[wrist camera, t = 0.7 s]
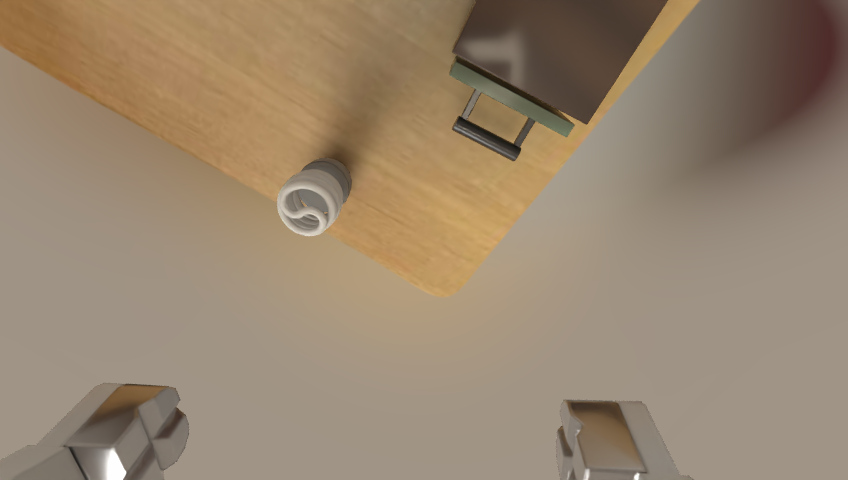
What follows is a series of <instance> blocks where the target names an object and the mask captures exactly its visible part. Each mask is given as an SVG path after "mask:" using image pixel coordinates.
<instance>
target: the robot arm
mask: <svg viewBox="0 0 848 480" xmlns="http://www.w3.org/2000/svg"><path fill="white" fill-rule="evenodd" d="M179 401H180V398H179V395H178V393H177V391H176V388H173V387H169V386H155V385H154V386H153V385H138V384H115V383H103V384H100V385H98V386H96V387H94V388H93V389H92V390H91V391H90V392H89V393H88V394H87V395H86V396H85V397H84V398H83V399H82V400H81V401H80V402H79V403H78V404H77V405H76V406H75V407H74V408H73V409H72V410H71V411H70V412H69V413H68V414H67V415H66V416H65V417H64V418H63V419H62V420H61V421H60V422H59V423H58V424H57V425H56V426H55V427H54V428H53V429H52V430H51V431H50V432H49V433H48V434H47V435H46V436H45V437H44V438H43V439H42V440H41V441H40V442H39V443H38V444H37V445H28V446H26V447H24V448H22V449H20V450H18V451H16V452H15V453H13V454H11V455H9V456H7V457H5V458H3V459H1V460H0V480H164V470H165V469H167V468H168V467H170V466H171V465H172V464H174V463H175V462H177V460H178V459H179V457H180V455H181V454H182V452H183V451H184V449H185V446H186V442H187V439H188V435H189V424H188V420H187V418H186V415H185V414H184V413H183V412H181V411H180V410H179V409H178V408H177V407H176V406H177V405H178V403H179ZM560 416H561V420H562V424H563V426H561V427H560V428H559V429H558V431H557V439H556V457H557V464H558V470H559V475H560V479H561V480H693V479H692V478H691V477H690V476H684V475H680V474H679V472H678V470H677V468H676V466H675V464H674V462H673V459H672V457H671V456H670V453H669V451H668V449H667V447H666V445H665V443H664V441H663V439H662V437H661V435H660V433H659V431H658V429H657V427H656V425H655V423H654V421H653V419H652V417H651V415H650V413H649V411H648V409H647V407H646V405H645V404H643V403H642V402H640V401H600V400H599V401H597V400H563V402H562V404H561V410H560Z"/></svg>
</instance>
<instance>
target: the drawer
mask: <svg viewBox="0 0 848 480" xmlns="http://www.w3.org/2000/svg"><path fill="white" fill-rule="evenodd" d="M449 75H450V76H452V77H453V78H455V79H457V80H459V81H461V82H463V83H465V84H467V85H469V86H470V87H472V88H474V89H475V90H474V92H473V94H472V96H471V97H470V99H469V101H468V103H467V105H466V107H465V109H464V111H463V113H462V115H461V116H458V117H457V119H456V121H455V123H454V125H453V127H452V130H453V131H455V132H457V133H459V134H461V135H463V136H465V137H467V138H469V139H471V140H473V141H475V142H477V143H479V144H480V145H482V146H484V147H486V148H488V149H490V150H492V151H494V152H496V153H498V154H500V155H502V156H504V157H506V158H508V159H510V160H512V161H515V160H516V159H517V157H518V156H519V154H520V151H521V148H520V146H521V144H522V143H523V141H524V139H525V138H526V136H527V134H528V133H529V131H530V129H531V128H532V126H533V124H534V123H535V121H537V122H538V123H540V124H542V125H544V126H546V127H548V128H550V129H552V130H554V131H555V132H557V133H559V134H561V135H563V136H565V137H567V136H568V135H569V133H570V132H571V130H572V129H573V127H574V124H573V123H572V122H571V121H570V120H568V119H567V118H566V117H565V116H564V115H563V114H562V113H561V112H560V111H558V110H557V109H555V108H553V107H551V106H549V105H548V104H546V103H544V102H542V101H540V100H538V99H536V98H535V97H533V96H531V95H529V94H527V93H525V92H523V91H522V90H520V89H518V88H516V87H514V86H512V85H510V84H509V83H507V82H505V81H503V80H501V79H499V78H497V77H496V76H494V75H492V74H490V73H488V72H486V71H484V70H483V69H481V68H479V67H477V66H475V65H473V64H471V63H469V62H468V61H466V60H464V59H462V58H460V57H458V56H456V57H455V59H454V61H453V64H452V66H451V69H450V73H449ZM481 92H482V93H484V94H486V95H487V96H489V97H491V98H493V99H495V100H497V101H499V102H501V103H503V104H504V105H506V106H508V107H510V108H512V109H514V110H516V111H518V112H520V113H521V114H523V115H525V116H527V117H529V118H528V119H527V121H526V123H525V125H524V126H523V128H522V130H521V131H520V133H519V135H518V136H517V138H516V140H515V142H514V144H513V143H511V142H509V141H507V140H505V139H503V138H501V137H499V136H497V135H495V134H493V133H491V132H490V131H488V130H486V129H484V128H482V127H480V126H478V125H476V124H474V123H472V122H470V121H468V120H467V119H468V117H469V115H470V113H471V111H472V109H473V107H474V105H475V103H476V102H477V100H478V98H479V96H480V94H481Z"/></svg>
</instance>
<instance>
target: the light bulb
mask: <svg viewBox="0 0 848 480" xmlns="http://www.w3.org/2000/svg"><path fill="white" fill-rule="evenodd" d="M351 184H352V180H351V176H350V173H349V171H348V170H347V168H346V167H345V166H344V165H343V164H342V163H341V162H339V161H337V160H335V159H331V158H320V159H317V160H314V161H313V162H311V163H310V164H308V165H306V166H305V167H304V168H303V169H302V171H301V172H299V173H297V174H296V175H294V176H292V177H291V178H290V179H289V180H288V181H287V182H286V183H285V184H284V186H283V187H282V188H281V190H280V192H279V195H278V200H277V208H278V212H279V215H280V217H281V219H282V220H283V222H284V223H285V225H286V226H287V227H288V228H289V229H291V230H292V231H294V232H296V233H298V234H301V235H304V236H315V235H318V234H321V233H322V232H323V231H324V230H325V229H327V228H328V227H330V225H331V224H332V223H333V222H334V221H335V220H336V219H337V217H338V215H339V212H340V211H341V208H342V205H343V204H344V203H345V202H346V200H347V198H348V195H349V193H350V191H351ZM299 196H300V197H299ZM300 199H301V200H302V201H303V202H304V203H305V204H306V205H307V206H308V207H304V206H303V204H302V202H301V200H300ZM324 212H328V213H327V214H324Z"/></svg>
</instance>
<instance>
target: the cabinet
mask: <svg viewBox="0 0 848 480" xmlns="http://www.w3.org/2000/svg"><path fill="white" fill-rule="evenodd" d="M667 1H668V0H475V3H474V5H473V7H472V9H471V11H470V13H469V15H468V17H467V19H466V21H465V24H464V26H463V28H462V30H461V32H460V34H459V36H458V38H457V40H456V42H455V45H454V47H453V51H452V52H453V53H454V54H456V55H458V56H460V57H462V58H463V59H465V60H467V61H469V62H471V63H473V64H475V65H476V66H478V67H480V68H482V69H484V70H486V71H488V72H489V73H491V74H493V75H495V76H497V77H499V78H501V79H502V80H504V81H506V82H508V83H510V84H512V85H514V86H515V87H517V88H519V89H521V90H523V91H525V92H527V93H528V94H530V95H532V96H534V97H536V98H538V99H540V100H541V101H543V102H545V103H547V104H549V105H551V106H553V107H554V108H556V109H558V110H560V111H562V112H564V113H566V114H568V115H569V116H571V117H573V118H575V119H577V120H579V121H581V122H582V123H584V124H588V122H589V121H590V119H591V118H592V116H593V115H594V113H595V112H596V110H597V109H598V107H599V105H600V104H601V102H602V101H603V99H604V98H605V96H606V95H607V93H608V92H609V90H610V89H611V87H612V86H613V84H614V82H615V81H616V79H617V78H618V76H619V75H620V73H621V72H622V70H623V69H624V67H625V66H626V64H627V63H628V61H629V59H630V58H631V56H632V55H633V53H634V52H635V50H636V49H637V47H638V46H639V44H640V43H641V41H642V39H643V38H644V36H645V35H646V33H647V32H648V30H649V29H650V27H651V26H652V24H653V23H654V21H655V20H656V18H657V16H658V15H659V13H660V12H661V10H662V9H663V7H664V6H665V4H666V3H667Z"/></svg>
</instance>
